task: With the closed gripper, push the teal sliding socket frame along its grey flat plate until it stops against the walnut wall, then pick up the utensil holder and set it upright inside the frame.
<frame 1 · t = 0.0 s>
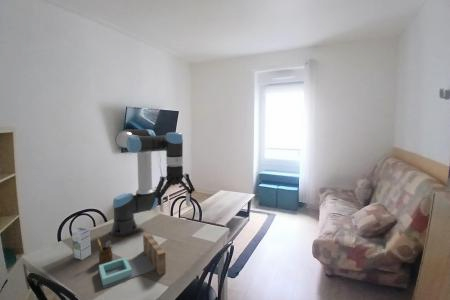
hand: (175, 208, 110), 28 cm above the table, tool pointing down, fingers open, 13 cm apart
grey flat plate: (127, 270, 107), on the table
syrup box: (82, 256, 118), on the table
utensil holder: (105, 262, 113), on the table
socket frame: (115, 270, 104), point 2 cm above the table, slide at 0.0 cm
backstop wall: (153, 261, 114), on the table
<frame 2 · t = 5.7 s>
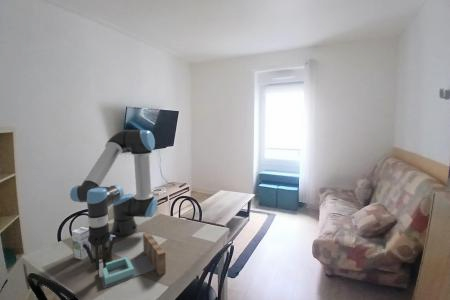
hand: (101, 275, 101), 2 cm above the table, tool pointing down, fingers closed
socket frame: (117, 269, 104), point 2 cm above the table, slide at 1.0 cm, touching gripper
everything else where it was.
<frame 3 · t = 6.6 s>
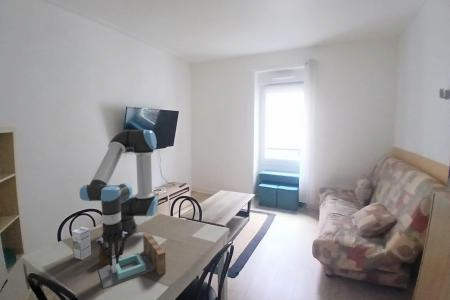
hand: (114, 270, 104), 2 cm above the table, tool pointing down, fingers closed
socket frame: (129, 265, 107), point 2 cm above the table, slide at 6.1 cm, touching gripper
everything else where it was.
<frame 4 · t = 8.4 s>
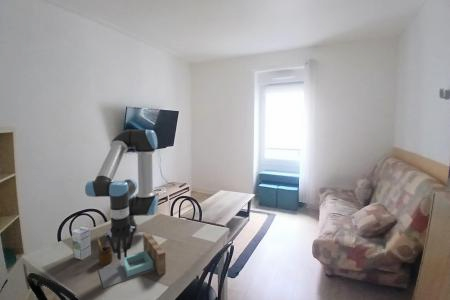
hand: (122, 264, 106), 3 cm above the table, tool pointing down, fingers closed
socket frame: (137, 262, 109), point 2 cm above the table, slide at 9.8 cm
everything else where it was.
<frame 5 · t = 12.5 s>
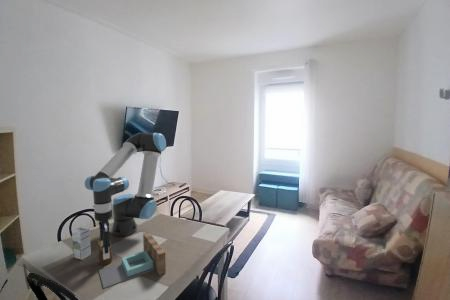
hand: (105, 255, 113), 3 cm above the table, tool pointing down, fingers closed on utensil holder, 6 cm apart
utensil holder: (105, 262, 113), on the table, touching gripper
everything else where it was.
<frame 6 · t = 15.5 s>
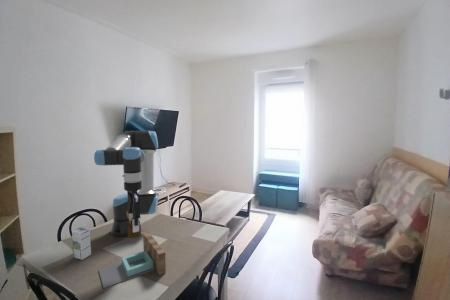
hand: (134, 228, 107), 19 cm above the table, tool pointing down, fingers closed on utensil holder, 6 cm apart
utensil holder: (134, 236, 108), point 16 cm above the table, touching gripper
everything else where it was.
when the fingers open (5 cm above the table, at t = 18.5 s): utensil holder drops 1 cm, resting on grey flat plate.
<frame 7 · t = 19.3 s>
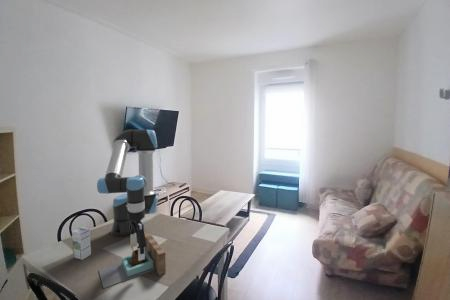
hand: (137, 252, 109), 7 cm above the table, tool pointing down, fingers open, 13 cm apart
utensil holder: (137, 266, 110), resting on grey flat plate
everything else where it was.
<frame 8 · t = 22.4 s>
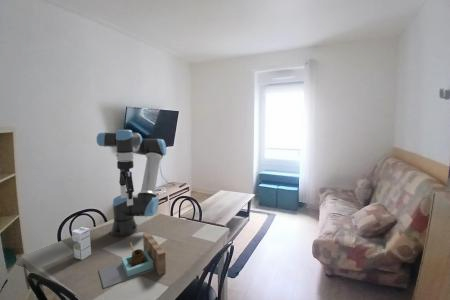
hand: (126, 201, 117), 29 cm above the table, tool pointing down, fingers open, 13 cm apart
nothing on the table moved.
at the end: socket frame slide at 9.8 cm; utensil holder 0.1 cm from the target spot, resting on grey flat plate; utensil holder tilted 0° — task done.
